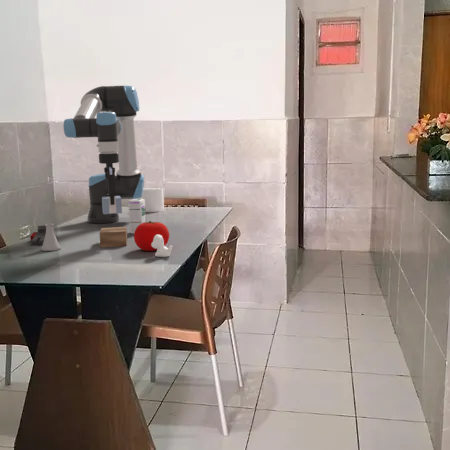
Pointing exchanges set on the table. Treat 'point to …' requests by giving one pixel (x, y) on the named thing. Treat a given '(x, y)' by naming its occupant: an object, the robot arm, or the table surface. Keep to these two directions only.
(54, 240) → the flask
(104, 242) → the base block
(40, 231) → the toy
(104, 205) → the blue brick
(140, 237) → the tomato
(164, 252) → the figurine
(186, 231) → the table surface
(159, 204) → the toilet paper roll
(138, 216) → the syrup box
